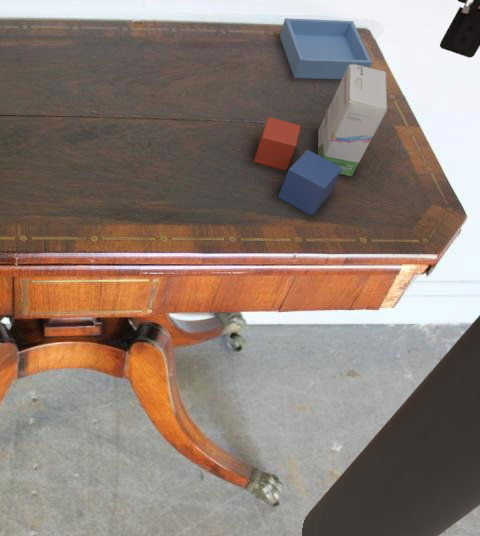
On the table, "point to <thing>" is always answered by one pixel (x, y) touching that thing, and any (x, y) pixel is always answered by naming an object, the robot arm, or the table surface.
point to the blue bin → (322, 47)
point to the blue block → (309, 182)
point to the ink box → (353, 117)
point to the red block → (277, 143)
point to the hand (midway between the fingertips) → (463, 26)
